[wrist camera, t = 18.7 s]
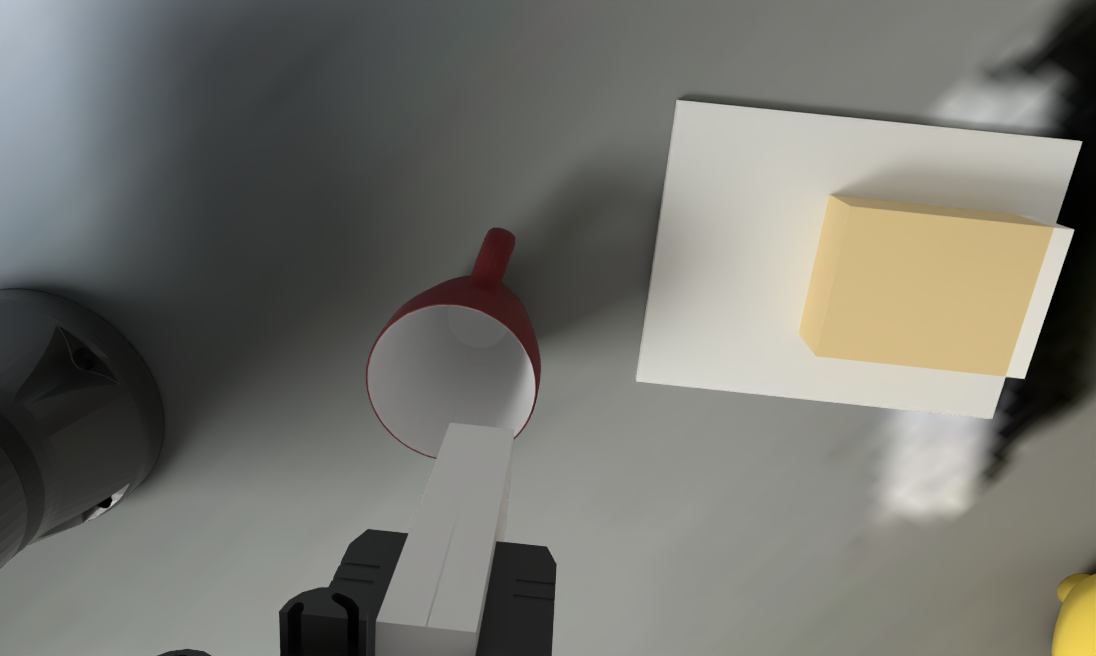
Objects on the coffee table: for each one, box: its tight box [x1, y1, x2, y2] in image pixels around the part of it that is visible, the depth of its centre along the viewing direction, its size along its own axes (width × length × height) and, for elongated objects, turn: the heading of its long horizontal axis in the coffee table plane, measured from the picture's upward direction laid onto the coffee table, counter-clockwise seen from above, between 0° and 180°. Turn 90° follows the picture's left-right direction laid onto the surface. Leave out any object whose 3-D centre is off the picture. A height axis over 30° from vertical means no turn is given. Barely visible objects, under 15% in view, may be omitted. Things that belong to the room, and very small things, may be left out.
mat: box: [636, 100, 1082, 419], centre depth 42 cm, size 21×16×1 cm
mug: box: [366, 228, 541, 459], centre depth 39 cm, size 10×8×10 cm
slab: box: [798, 195, 1074, 379], centre depth 40 cm, size 4×8×11 cm
